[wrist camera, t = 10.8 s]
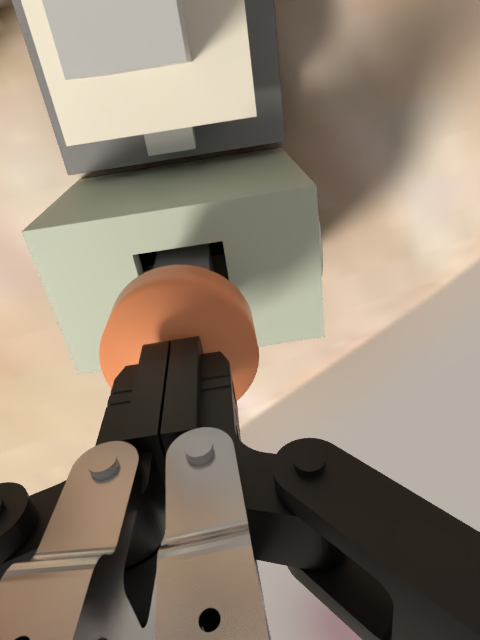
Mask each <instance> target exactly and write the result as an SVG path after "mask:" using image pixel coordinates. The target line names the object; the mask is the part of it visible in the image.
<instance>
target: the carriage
mask: <svg viewBox="0 0 480 640" xmlns="http://www.w3.org/2000/svg"><path fill="white" fill-rule="evenodd" d="M21 2H22V6H23V9H24V12H25V15H26V18H27V21H28V25H29V28H30V31H31V34H32V37H33V41H34V44H35V47H36V50H37V53H38V57H39V60H40V63H41V66H42V69H43V73H44V76H45V79H46V82H47V85H48V88H49V92H50V95H51V98H52V101H53V104H54V108H55V111H56V114H57V117H58V120H59V124H60V127H61V130H62V133H63V136H64V140H65V143H66V146H73V145H79V144H85V143H92V142H98V141H104V140H111V139H117V138H123V137H130V136H136V135H142V134H149V133H155V132H161V131H168V130H174V129H180V128H187V127H193V126H199V125H206V124H212V123H218V122H225V121H231V120H237V119H244V118H250V117H256V116H257V113H256V104H255V94H254V85H253V76H252V67H251V58H250V48H249V39H248V30H247V21H246V12H245V2H244V0H21Z"/></svg>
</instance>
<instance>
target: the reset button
mask: <svg viewBox="0 0 480 640" xmlns="http://www.w3.org/2000/svg"><path fill="white" fill-rule="evenodd" d="M195 336H199V337H200V340H201V344H202V348H203V353H204V354H205V353H212V352H218V351H221V352H222V354H223V355H224V356H225V357H226V358H227V359H228V361H229V363H230V368H231V374H232V379H233V385H234V390H235V396H236V401H237V400H238V399H239V398H241V397H242V396H243V395H244V393H245V392H246V391H247V390H248V388H249V387H250V385H251V383H252V382H253V380H254V377H255V375H256V372H257V368H258V362H259V349H258V343H257V338H256V333H255V327H254V322H253V317H252V313H251V310H250V307H249V305H248V303H247V301H246V299H245V297H244V296H243V295H242V293H241V292H240V291H239V289H238V288H237V287H236V286H235V285H233V284H232V283H231V282H230V281H229V280H227V279H226V278H225V277H223V276H221V275H219V274H218V273H216V272H214V269H213V264H212V258H211V253H210V247H209V243H207V244H200V245H194V246H187V247H181V248H174V249H168V250H162V251H157V255H156V259H155V263H154V267H153V270H150V271H147V272H145V273H143V274H141V275H140V276H138V277H137V278H135V279H134V280H132V281H131V282H130V283H129V284H128V285H127V286H126V287H125V288H124V289H123V290H122V292H121V293H120V294H119V296H118V298H117V299H116V301H115V303H114V306H113V309H112V311H111V314H110V316H109V319H108V322H107V324H106V327H105V330H104V332H103V335H102V337H101V342H100V347H99V358H100V365H101V369H102V372H103V375H104V377H105V379H106V381H107V383H108V384H109V386H110V387H111V389H112V386H113V383H114V379H115V378H116V377H117V376H118V374H119V373H120V372H121V371H122V370H123V369H124V367H125V366H128V365H135V364H138V363H139V359H140V354H141V350H142V346H143V345H144V344H150V343H157V342H163V341H172V340H175V339H182V338H188V337H195Z"/></svg>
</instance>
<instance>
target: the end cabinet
mask: <svg viewBox="0 0 480 640" xmlns="http://www.w3.org/2000/svg"><path fill="white" fill-rule="evenodd" d="M22 234H23V237H24V239H25V242H26V244H27V247H28V249H29V252H30V254H31V257H32V259H33V262H34V264H35V267H36V269H37V272H38V274H39V277H40V279H41V282H42V284H43V287H44V289H45V292H46V295H47V297H48V300H49V302H50V305H51V307H52V310H53V312H54V315H55V317H56V320H57V322H58V325H59V327H60V330H61V332H62V335H63V337H64V340H65V342H66V345H67V347H68V350H69V352H70V355H71V358H72V360H73V363H74V365H75V368H76V370H77V373H78V374H84V373H90V372H97V371H102V369H101V365H100V358H99V347H100V342H101V337H102V335H103V332H104V330H105V327H106V324H107V322H108V319H109V316H110V314H111V311H112V309H113V306H114V303H115V301H116V299H117V298H118V296H119V294H120V293H121V292H122V290H123V289H124V288H125V287H126V286H127V285H128V284H129V283H130V282H131V281H132V280H134V279H135V278H137V277H138V276H140V275H141V274H143V273H145V272H147V271H150V270H153V267H154V265H151V266H144V267H142V265H141V261H140V258H139V254H142V253H149V252H155V251H162V250H168V249H174V248H181V247H187V246H194V245H200V244H207V243H213V242H220V241H223V246H224V252H225V254H222V255H215V256H211V258H212V264H213V269H214V272H216V273H218V274H219V275H221V276H223V277H225V278H226V279H227V280H229V281H230V282H231V283H232V284H233V285H235V286H236V287H237V288H238V289H239V291H240V292H241V293H242V295H243V296H244V297H245V299H246V301H247V303H248V305H249V307H250V310H251V313H252V317H253V322H254V327H255V333H256V338H257V343H258V347H260V346H267V345H273V344H280V343H286V342H293V341H299V340H306V339H312V338H319V337H325V335H324V315H323V296H322V271H323V250H322V237H321V228H320V221H319V215H318V197H317V185H316V184H315V183H314V182H313V181H312V180H311V179H310V178H309V177H308V176H307V174H306V173H305V172H304V171H303V170H302V169H301V168H300V167H299V166H298V165H297V164H296V163H295V162H294V160H293V159H292V158H291V157H290V156H289V155H288V154H287V153H286V152H285V151H284V150H283V149H282V148H275V149H269V150H262V151H256V152H250V153H243V154H237V155H230V156H224V157H218V158H211V159H205V160H199V161H192V162H186V163H180V164H173V165H167V166H160V167H154V168H148V169H141V170H135V171H129V172H122V173H116V174H110V175H103V176H97V177H90V178H84V179H79V180H78V181H77V182H76V183H75V184H74V185H73V186H72V187H70V188H69V189H68V190H67V191H66V192H65V193H64V194H63V195H62V196H61V197H59V198H58V199H57V200H56V201H55V202H54V203H53V204H52V205H51V206H50V207H48V208H47V209H46V210H45V211H44V212H43V213H42V214H41V215H40V216H38V217H37V218H36V219H35V220H34V221H33V222H32V223H31V224H30V225H29V226H27V227H26V228H25V229H24V230H23V231H22Z"/></svg>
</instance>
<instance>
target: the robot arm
mask: <svg viewBox="0 0 480 640" xmlns="http://www.w3.org/2000/svg"><path fill="white" fill-rule="evenodd" d="M107 405H108V407H106V411H105V414H104V418H103V421H102V425H101V428H100V432H99V435H98V439H97V442H96V446H95V447H93V448H91V449H89V450H88V451H86V452H85V453H84V454H83V455H82V456H80V458H79V459H78V460H77V461H76V462H75V464H74V465H73V467H72V469H71V471H70V473H69V476H68V478H67V480H66V481H64V482H62V483H60V484H58V485H55V486H53V487H50V488H48V489H45V490H43V491H40V492H38V493H36V494H33V495H31V496H29V495H28V493H27V491H26V489H25V488H24V487H23V486H22V485H20V484H17V483H10V482H7V483H1V484H0V640H154V638H155V640H271V636H270V631H269V625H268V620H267V615H266V610H265V604H264V599H263V593H262V588H261V583H260V577H259V572H258V566H257V561H256V560H261V561H266V562H271V563H276V564H282V565H287V566H288V569H289V570H290V572H291V573H292V575H294V577H295V578H296V579H297V580H299V581H300V582H301V583H302V584H303V585H304V586H305V587H306V588H307V589H308V590H309V591H310V592H311V593H313V594H314V595H315V596H316V597H317V598H318V599H319V600H320V601H321V602H322V603H323V604H325V605H326V606H327V607H328V608H329V609H330V610H331V611H332V612H333V613H334V614H335V615H337V616H338V617H339V618H340V619H341V620H342V621H343V622H344V623H345V624H346V625H348V627H350V628H351V629H352V630H353V631H354V632H355V633H356V634H357V635H358V636H359V637H360V638H361V639H363V640H480V532H478V531H476V530H475V529H473V528H472V527H470V526H468V525H467V524H465V523H463V522H462V521H460V520H458V519H456V518H455V517H453V516H451V515H450V514H448V513H446V512H445V511H443V510H442V509H440V508H438V507H437V506H435V505H433V504H432V503H430V502H428V501H427V500H425V499H423V498H422V497H420V496H418V495H416V494H415V493H413V492H412V491H410V490H408V489H407V488H405V487H403V486H402V485H400V484H398V483H397V482H395V481H393V480H392V479H390V478H388V477H387V476H385V475H383V474H382V473H380V472H378V471H377V470H375V469H373V468H371V467H370V466H368V465H366V464H365V463H363V462H362V461H360V460H358V459H357V458H355V457H353V456H352V455H350V454H348V453H347V452H345V451H343V450H342V449H340V448H338V447H337V446H335V445H333V444H332V443H330V442H327V441H324V440H321V439H316V438H304V439H298V440H295V441H292V442H290V443H288V444H286V445H285V446H283V447H282V448H281V449H280V450H279V451H278V453H277V454H272V453H264V452H259V451H256V450H253V449H251V448H249V447H247V446H246V445H244V444H243V443H242V442H241V439H240V429H239V420H238V408H237V401H236V396H235V390H234V385H233V379H232V374H231V368H230V363H229V361H228V359H227V358H226V357H225V356H224V355H223V354H222V352H221V351H218V352H212V353H205V354H204V353H203V348H202V344H201V340H200V337H199V336H195V337H188V338H182V339H175V340H172V341H163V342H157V343H150V344H144V345H143V346H142V350H141V354H140V359H139V363H138V364H135V365H128V366H125V367H124V369H123V370H122V371H121V372H120V373H119V374H118V376H117V377H116V378H115V379H114V383H113V386H112V390H111V396H110V397H109V400H108V404H107ZM165 530H166V532H165ZM155 628H156V631H155ZM155 634H156V635H155Z"/></svg>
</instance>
